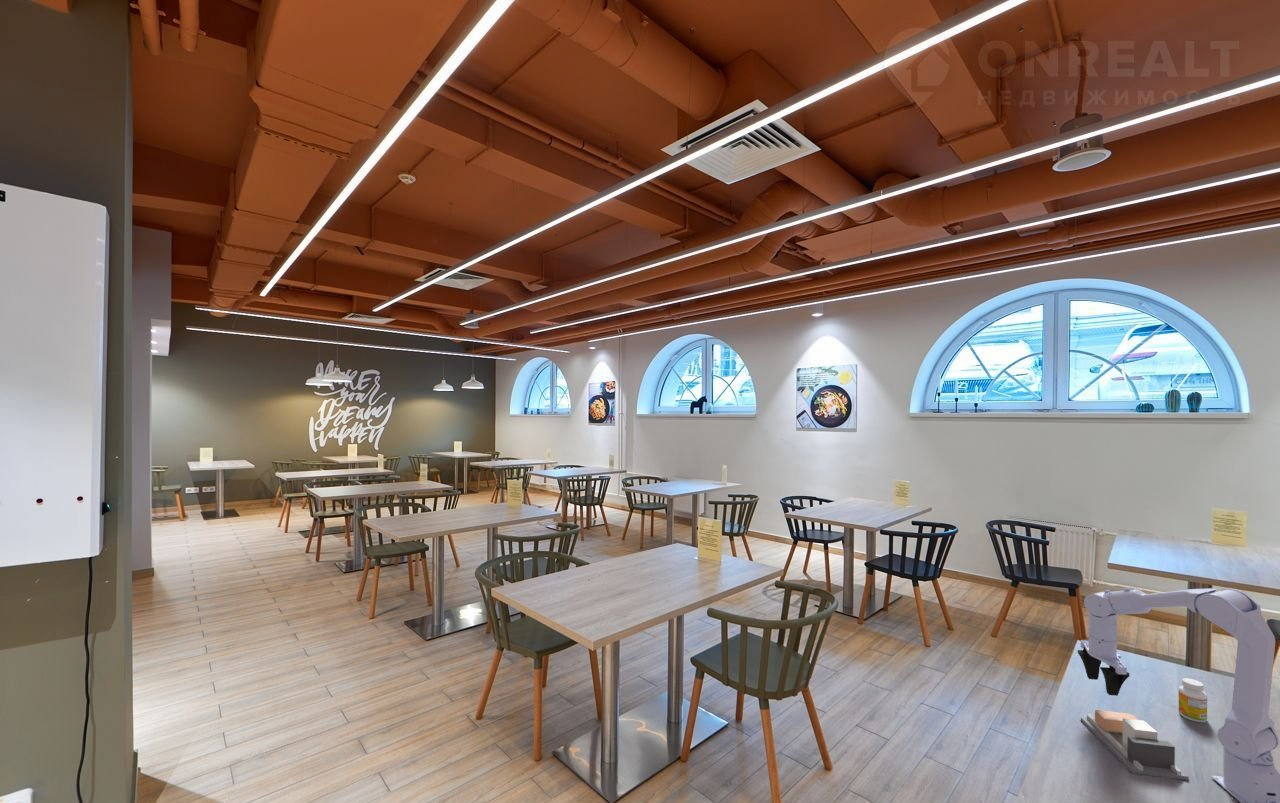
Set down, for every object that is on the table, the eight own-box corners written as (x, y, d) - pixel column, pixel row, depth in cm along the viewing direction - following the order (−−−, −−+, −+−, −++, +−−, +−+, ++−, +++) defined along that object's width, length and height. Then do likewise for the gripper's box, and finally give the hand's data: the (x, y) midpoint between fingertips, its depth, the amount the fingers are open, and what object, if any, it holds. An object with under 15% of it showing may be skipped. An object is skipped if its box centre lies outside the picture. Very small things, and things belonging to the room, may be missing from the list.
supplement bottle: (1176, 708, 146) (1177, 674, 146) (1204, 715, 143) (1205, 680, 143) (1180, 717, 142) (1180, 682, 142) (1209, 725, 139) (1209, 689, 139)
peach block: (1142, 734, 132) (1142, 723, 132) (1104, 730, 134) (1104, 719, 134) (1131, 725, 136) (1131, 713, 136) (1094, 721, 138) (1095, 709, 138)
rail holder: (1188, 780, 120) (1188, 753, 119) (1132, 772, 122) (1132, 746, 122) (1128, 725, 139) (1128, 702, 139) (1080, 720, 142) (1080, 697, 141)
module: (1157, 760, 125) (1157, 732, 125) (1135, 758, 126) (1135, 729, 126) (1143, 748, 129) (1143, 720, 129) (1122, 745, 130) (1122, 718, 130)
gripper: (1140, 651, 133) (1140, 703, 133) (1100, 626, 147) (1100, 673, 148) (1109, 649, 134) (1108, 701, 134) (1072, 624, 148) (1072, 671, 149)
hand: (1102, 686), depth 141 cm, fingers open, 7 cm apart
